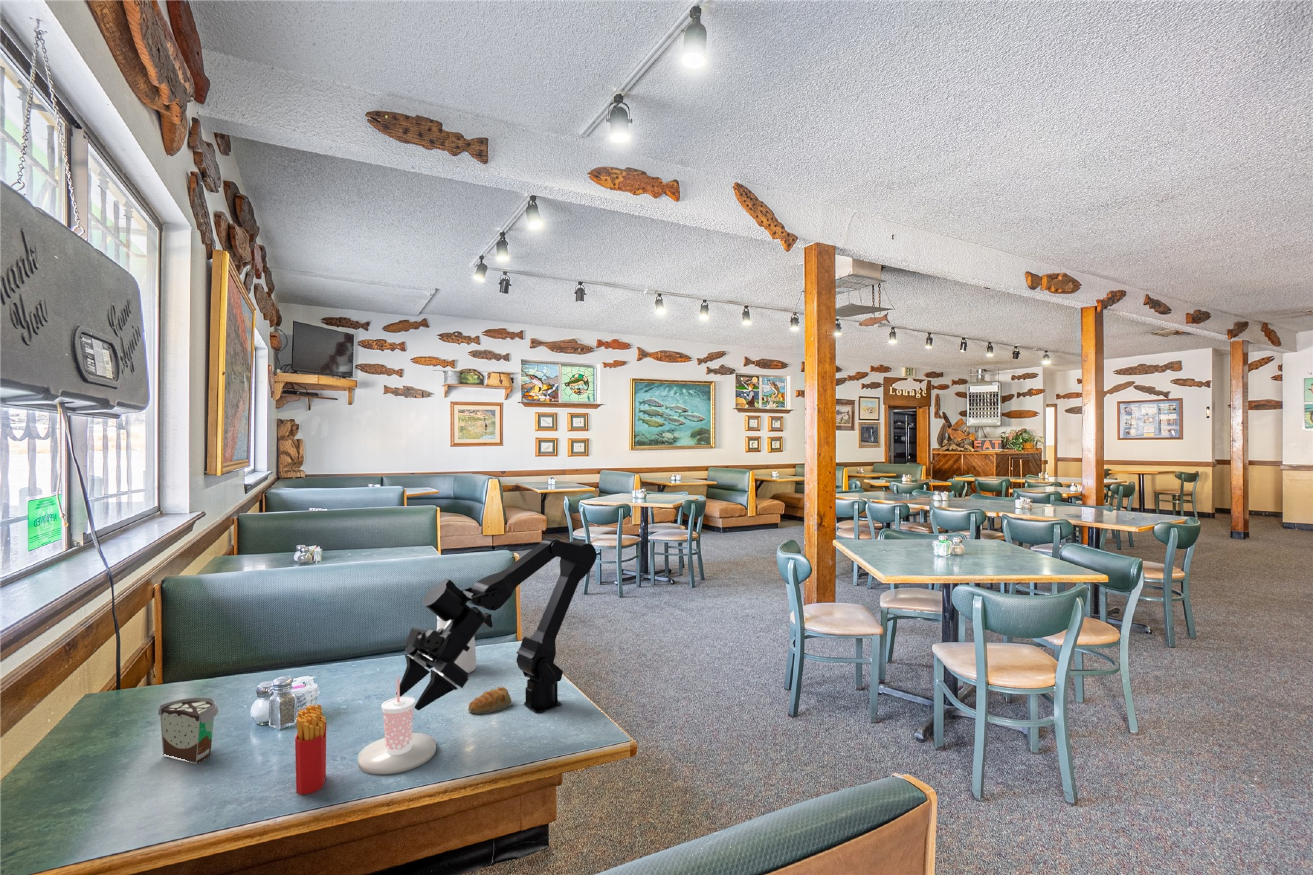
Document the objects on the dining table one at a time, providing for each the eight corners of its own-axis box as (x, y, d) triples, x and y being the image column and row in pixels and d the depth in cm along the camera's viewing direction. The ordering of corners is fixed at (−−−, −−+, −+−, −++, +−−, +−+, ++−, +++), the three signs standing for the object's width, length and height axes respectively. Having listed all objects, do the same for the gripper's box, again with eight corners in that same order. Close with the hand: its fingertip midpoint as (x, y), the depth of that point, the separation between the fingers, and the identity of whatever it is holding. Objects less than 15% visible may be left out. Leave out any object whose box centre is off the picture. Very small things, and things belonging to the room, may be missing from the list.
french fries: (320, 794, 108) (320, 718, 108) (292, 799, 106) (292, 722, 107) (328, 768, 116) (328, 698, 117) (303, 772, 115) (302, 702, 115)
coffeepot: (484, 654, 181) (483, 589, 181) (467, 687, 156) (467, 611, 156) (445, 656, 179) (445, 590, 180) (422, 689, 154) (422, 613, 155)
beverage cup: (385, 743, 124) (385, 672, 124) (418, 740, 125) (417, 670, 125) (377, 758, 118) (377, 684, 118) (412, 755, 119) (411, 681, 119)
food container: (233, 750, 124) (233, 700, 124) (202, 765, 118) (202, 712, 118) (190, 741, 128) (190, 692, 128) (157, 755, 122) (157, 704, 123)
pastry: (477, 719, 137) (477, 702, 138) (462, 711, 142) (462, 694, 142) (514, 706, 144) (513, 689, 144) (498, 698, 149) (497, 682, 149)
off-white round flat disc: (421, 732, 131) (421, 726, 131) (447, 757, 120) (447, 750, 120) (349, 754, 122) (349, 747, 122) (370, 783, 111) (370, 776, 111)
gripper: (413, 603, 133) (359, 669, 125) (452, 620, 119) (394, 694, 112) (449, 632, 138) (399, 696, 131) (490, 651, 125) (438, 724, 117)
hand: (406, 702), depth 122 cm, fingers open, 9 cm apart
